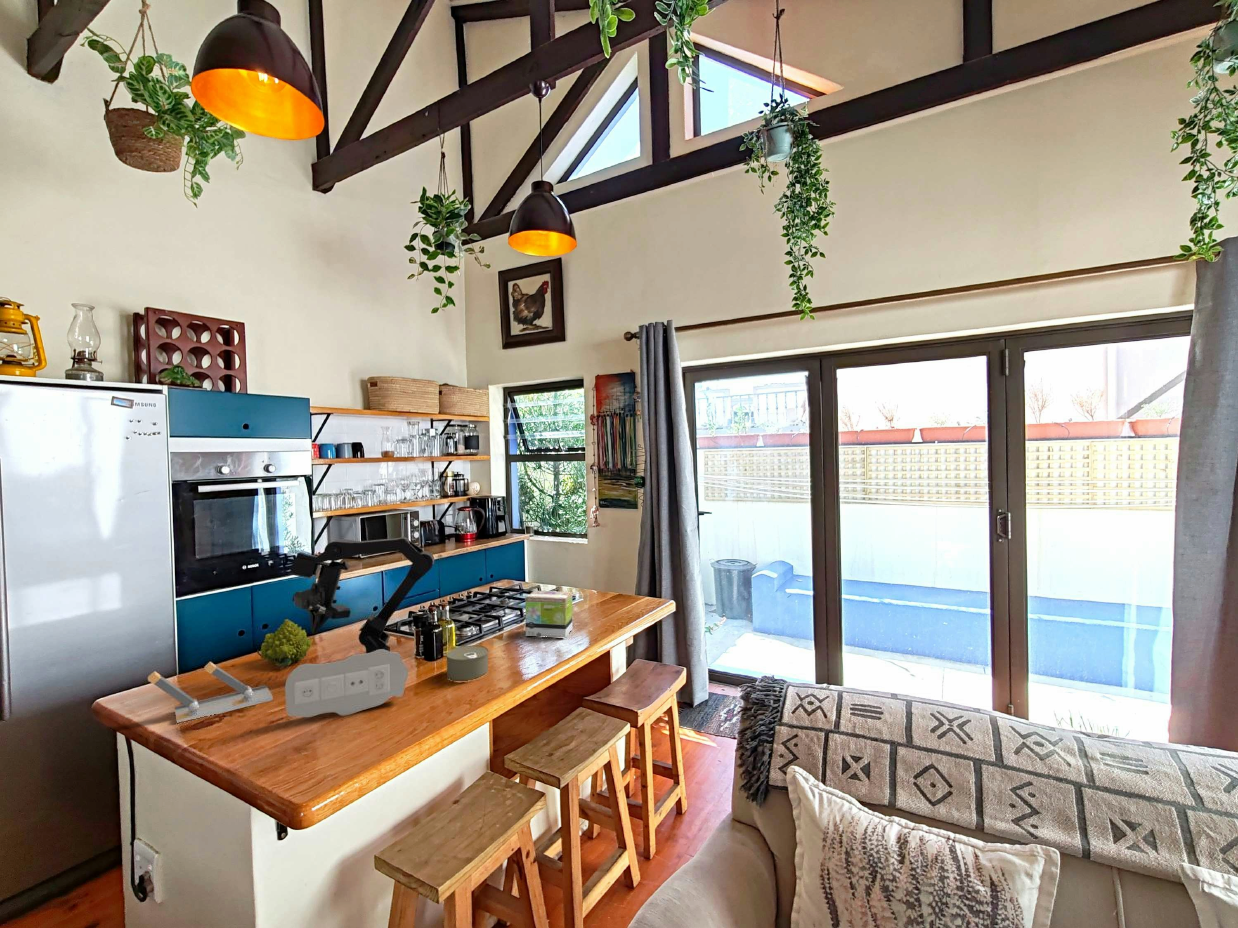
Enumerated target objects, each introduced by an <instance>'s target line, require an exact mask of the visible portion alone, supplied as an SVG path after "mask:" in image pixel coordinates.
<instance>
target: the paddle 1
mask: <svg viewBox="0 0 1238 928" xmlns="http://www.w3.org/2000/svg"><path fill="white" fill-rule="evenodd" d="M147 681H148V682H150V683H151V684H152V685H154V686H156V687H158V688H159V689H161V690H162V691H163V692H165V693H166V694H167V695H169V696H171V697H172V698H173V699H175V700H176V701H177V702H179V703H181V705H183V704H184V705H185V706H186V707H188V708H189V710H190V711H195V710H196V709H197V708H198V707H199V705H198V701H199V700H198V699H197V698H195V697H194V698H193V697H192V696H190V695H189V694H188V693H186V692H185V691H184V690H182V689H181V688H179V687H178V686H176V685H175V684H174V683H172V682H171V681H169V680H168V679H167V678H165V677H164V676H162V675H161V674H160V673H158V672H157V671H155V670H154V671H153V672H151V673H150V674H149V675H148V676H147Z"/></svg>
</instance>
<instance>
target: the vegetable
mask: <svg viewBox="0 0 1238 928" xmlns="http://www.w3.org/2000/svg"><path fill="white" fill-rule="evenodd" d="M263 641H264V642H263V643H262V644H261V647H260V650H259V648H258V649H257V651H256V653H257V655H259V656H260V658H261V659H265V660H267V661H268V662H270V663H273V664H275V665H274V666H275V667H277V666H279V670H282V669H284V668H285V667H286V668H287V667H289V666H290V665H291V664H292V663H294V664H297V663H300V662H301V661H302V659H304V658H305V657H306V656H307V653H308V652H309V650H310V649H311V647H312V644H313V642H314V641H313V638H308V636H307V632H306V630H305V629H302V626H298V623H297V624H295V623H294V622H293V621H291V620H289V619H284V621H283V623H282V624H280V626H279V628H277V630H276V631H275V632H273V633H272V632H270V633H267V634H265V637H264V640H263ZM280 666H281V667H280Z"/></svg>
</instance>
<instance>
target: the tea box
mask: <svg viewBox="0 0 1238 928" xmlns="http://www.w3.org/2000/svg"><path fill="white" fill-rule="evenodd" d="M524 602H525V603H524V604H525V637H526V636H545V637H546V636H547V637H566V636H567V635H568V634H569V632H570V631H571V630H572V631H573V592H572V591H551V590H549V591H548V590H533V591H531V593H530V594H528V595H527V596H525V600H524ZM569 635H570V634H569ZM569 635H568V636H569Z"/></svg>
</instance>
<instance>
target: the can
mask: <svg viewBox="0 0 1238 928" xmlns="http://www.w3.org/2000/svg"><path fill="white" fill-rule="evenodd" d="M445 657H446V679H447V678H448V679H450V680H452V681H468V680H473V679H477V678H479V677H481V676H483V675H485V674H486V673H487V671H488V672H489V649H488V648H487V647H486V646H482V645H464V646H463V645H462V646H458V647H455V648H452V649H449V650H448V651H447V652H446V653H445ZM448 679H447V680H448Z"/></svg>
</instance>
